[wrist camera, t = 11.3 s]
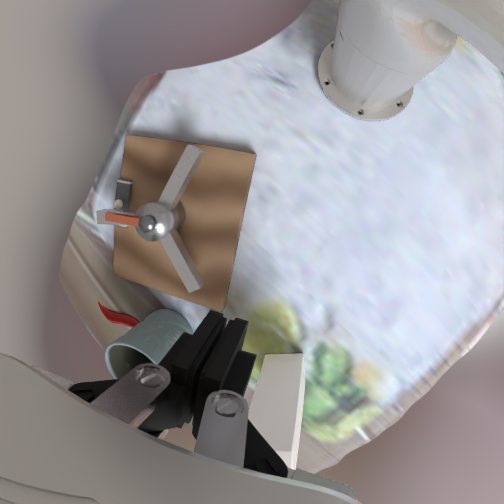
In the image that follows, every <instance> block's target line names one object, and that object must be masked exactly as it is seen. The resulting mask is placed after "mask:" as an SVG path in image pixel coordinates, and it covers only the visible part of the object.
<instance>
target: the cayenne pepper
mask: <svg viewBox="0 0 504 504" xmlns="http://www.w3.org/2000/svg"><path fill="white" fill-rule="evenodd" d="M98 304H99V306H100V309H101V311H102V313H103V314H104V316H105V317H106V318H107V319H108V320H109V321H110V322H112V323H117V324H123V325H127V326H130V327H132V328H133V327H134V326H136V325H137V324H138V323H140V322H139V321H138V320H136V319H135V318H133V317H131V316H128V315H125V314H120V313H115V312H112V311H110V310H108V309H106V308H105V307H104V306H103V307H102V306H101V304H100V303H99V302H98Z"/></svg>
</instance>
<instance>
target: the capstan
mask: <svg viewBox="0 0 504 504" xmlns="http://www.w3.org/2000/svg"><path fill="white" fill-rule="evenodd" d="M205 153H206V152H204V151H202V150H201V149H199V148H197V147H196V146H194V145H187V147H186V149H185V151H184V152H183V154H182V156H181V158H180V160H179V162H178V164H177V165H176V167H175V169H174V171H173V173H172V175H171V177H170V179H169V181H168V183H167V185H166V186H165V188H164V190H163V192H162V194H161V196H160V199H159V201H155V202H151V203H147V204H144V205H142V206H140V207H139V208H138V210H121V209H103V210H99V211H97V224H109V225H125V226H135V229H136V231H137V233H138V234H139V236H140V237H141V238H143V239H144V240H146V241H150V242H154V241H157V240H160V242H161V244H162V245H163V247H164V249H165V251H166V253H167V255H168V256H169V258H170V260H171V262H172V264H173V266H174V267H175V269H176V271H177V273H178V275H179V276H180V278H181V280H182V282H183V283H184V285H185V287H186V289H187V290H188V292H189V293H191V292H193V291H195V290H198V289H200V288H201V287H202V286H203V285H204V284H205V282H204V280H203V278H202V276H201V275H200V273H199V271H198V269H197V267H196V266H195V264H194V262H193V260H192V258H191V256H190V255H189V253H188V251H187V249H186V247H185V245H184V244H183V242H182V240H181V238H180V236H179V234H178V232H177V230H179V229H180V228H181V227H182V226H183V225H184V223H185V218H186V214H185V210H184V207H183V206H182V204H181V203H180V202H179V200H180V198H181V196H182V194H183V193H184V191H185V189H186V187H187V185H188V183H189V181H190V180H191V178H192V176H193V174H194V172H195V171H196V169H197V167H198V165H199V164H200V162H201V160H202V158H203V157H204V155H205Z"/></svg>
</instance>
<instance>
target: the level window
mask: <svg viewBox="0 0 504 504" xmlns="http://www.w3.org/2000/svg"><path fill="white" fill-rule="evenodd" d="M132 184H133V181H131V180H126V179H118V180H117V190H116V199H115V201H116V200H118V199H120V200H122V202H123V207H122V208H121V210H129V209H130V200H131V191H132ZM115 209H116V208H115ZM116 226H119V227H123V228H127V227H128V226H125V225H116Z"/></svg>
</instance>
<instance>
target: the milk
mask: <svg viewBox="0 0 504 504" xmlns="http://www.w3.org/2000/svg"><path fill="white" fill-rule="evenodd" d="M304 391H305V370H304V356H303V353H295V354H266V355H265V357H264V361H263V364H262V368H261V371H260V375H259V378H258V382H257V385H256V388H255V392H254V395H253V398H252V401H251V405H250V408H249V411H248V419H249V420H250V422H251V423H252V424H253V425H254V427H255V428H256V429H257V430H258V431H259V433H260V434H261V435H262V436H263V438H264V439H265V440H266V441H267V442H268V444H269V445H270V446H271V447H272V448H273V449H274V451H275V452H276V453H277V454H278V455H279V456H280V457H281V459H282V460H283V461H284V462H285V464H286V465H287V467H288V468H291V469H294V470H295V469H296V462H297V454H298V446H299V438H300V430H301V421H302V411H303V401H304Z"/></svg>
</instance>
